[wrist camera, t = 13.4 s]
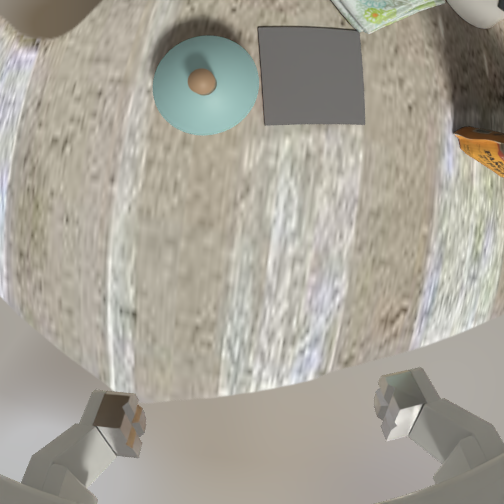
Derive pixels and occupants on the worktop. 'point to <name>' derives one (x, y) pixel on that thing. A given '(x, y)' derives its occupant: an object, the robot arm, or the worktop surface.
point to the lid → (205, 85)
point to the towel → (380, 11)
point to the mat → (311, 76)
